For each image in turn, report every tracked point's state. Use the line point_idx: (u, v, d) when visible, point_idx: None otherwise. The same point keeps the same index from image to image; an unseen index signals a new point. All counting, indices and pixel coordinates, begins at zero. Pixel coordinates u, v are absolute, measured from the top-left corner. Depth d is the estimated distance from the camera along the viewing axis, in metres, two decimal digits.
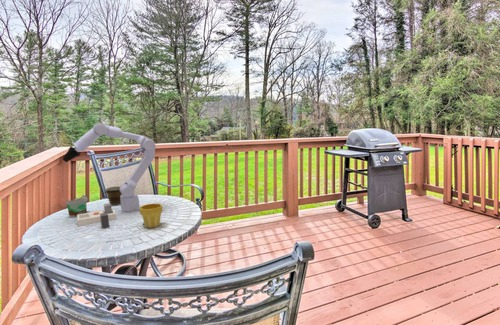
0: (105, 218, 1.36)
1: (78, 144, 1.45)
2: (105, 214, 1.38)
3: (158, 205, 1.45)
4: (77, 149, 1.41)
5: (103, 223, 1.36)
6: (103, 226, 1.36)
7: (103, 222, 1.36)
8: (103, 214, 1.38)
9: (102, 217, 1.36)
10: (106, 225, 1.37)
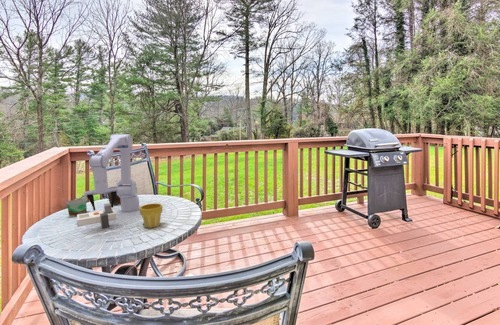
0: (105, 218, 1.36)
1: (107, 188, 1.36)
2: (105, 214, 1.38)
3: (158, 205, 1.45)
4: (118, 190, 1.40)
5: (103, 223, 1.36)
6: (103, 226, 1.36)
7: (103, 222, 1.36)
8: (103, 214, 1.38)
9: (102, 217, 1.36)
10: (106, 225, 1.37)
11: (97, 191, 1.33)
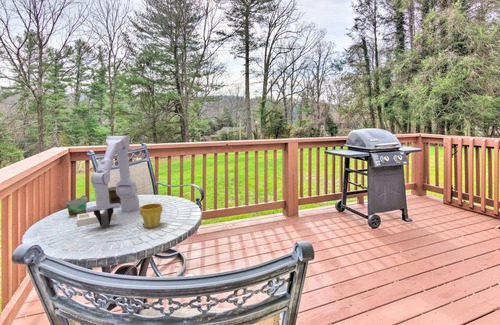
0: (105, 218, 1.36)
1: (109, 204, 1.37)
2: (105, 214, 1.38)
3: (158, 205, 1.45)
4: (119, 205, 1.41)
5: (103, 223, 1.36)
6: (103, 226, 1.36)
7: (103, 222, 1.36)
8: (103, 214, 1.38)
9: (102, 217, 1.36)
10: (106, 225, 1.37)
11: (99, 207, 1.34)
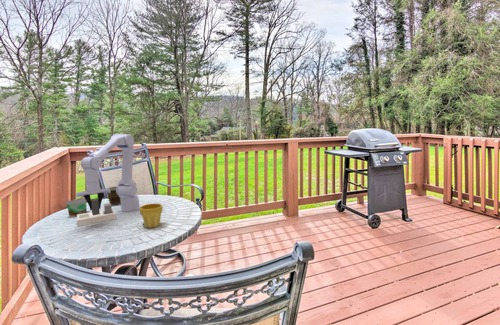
0: (95, 203, 1.38)
1: (99, 188, 1.39)
2: (95, 199, 1.39)
3: (158, 205, 1.45)
4: None
5: (93, 208, 1.38)
6: (93, 211, 1.38)
7: (93, 207, 1.38)
8: (93, 199, 1.39)
9: (92, 202, 1.37)
10: (96, 210, 1.38)
11: (89, 192, 1.36)
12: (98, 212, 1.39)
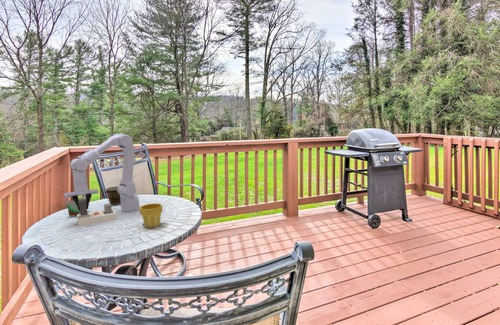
0: (83, 204, 1.42)
1: (87, 189, 1.43)
2: (83, 200, 1.43)
3: (158, 205, 1.45)
4: None
5: (81, 209, 1.42)
6: (81, 211, 1.42)
7: (81, 207, 1.42)
8: (81, 200, 1.43)
9: (80, 203, 1.41)
10: (84, 211, 1.43)
11: (77, 193, 1.40)
12: (86, 212, 1.43)
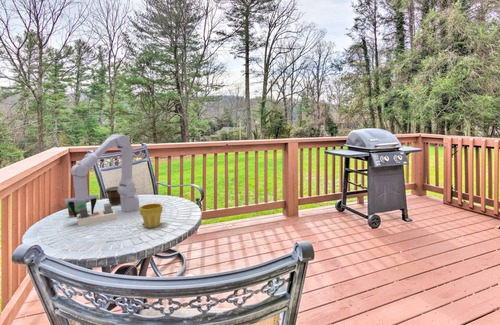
0: (84, 212, 1.43)
1: (87, 195, 1.44)
2: (84, 208, 1.44)
3: (158, 205, 1.45)
4: (98, 197, 1.47)
5: (82, 217, 1.42)
6: None
7: (82, 215, 1.42)
8: (82, 208, 1.44)
9: (81, 211, 1.42)
10: None
11: (77, 198, 1.41)
12: None
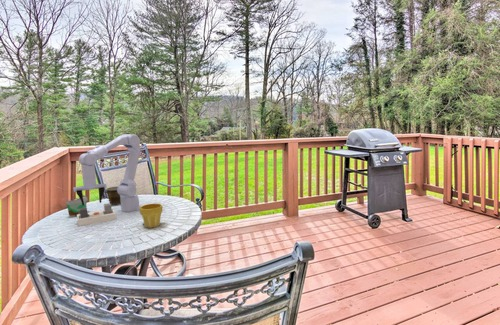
0: (84, 212, 1.43)
1: (95, 184, 1.45)
2: (84, 208, 1.44)
3: (158, 205, 1.45)
4: (106, 186, 1.49)
5: (82, 217, 1.42)
6: None
7: (82, 215, 1.42)
8: (82, 208, 1.44)
9: (81, 211, 1.42)
10: None
11: (86, 187, 1.42)
12: None
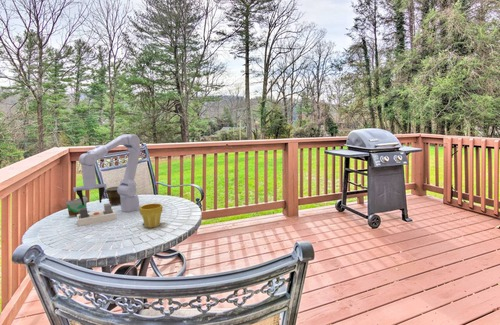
0: (84, 212, 1.43)
1: (95, 184, 1.45)
2: (84, 208, 1.44)
3: (158, 205, 1.45)
4: (106, 186, 1.49)
5: (82, 217, 1.42)
6: None
7: (82, 215, 1.42)
8: (82, 208, 1.44)
9: (81, 211, 1.42)
10: None
11: (86, 187, 1.42)
12: None
